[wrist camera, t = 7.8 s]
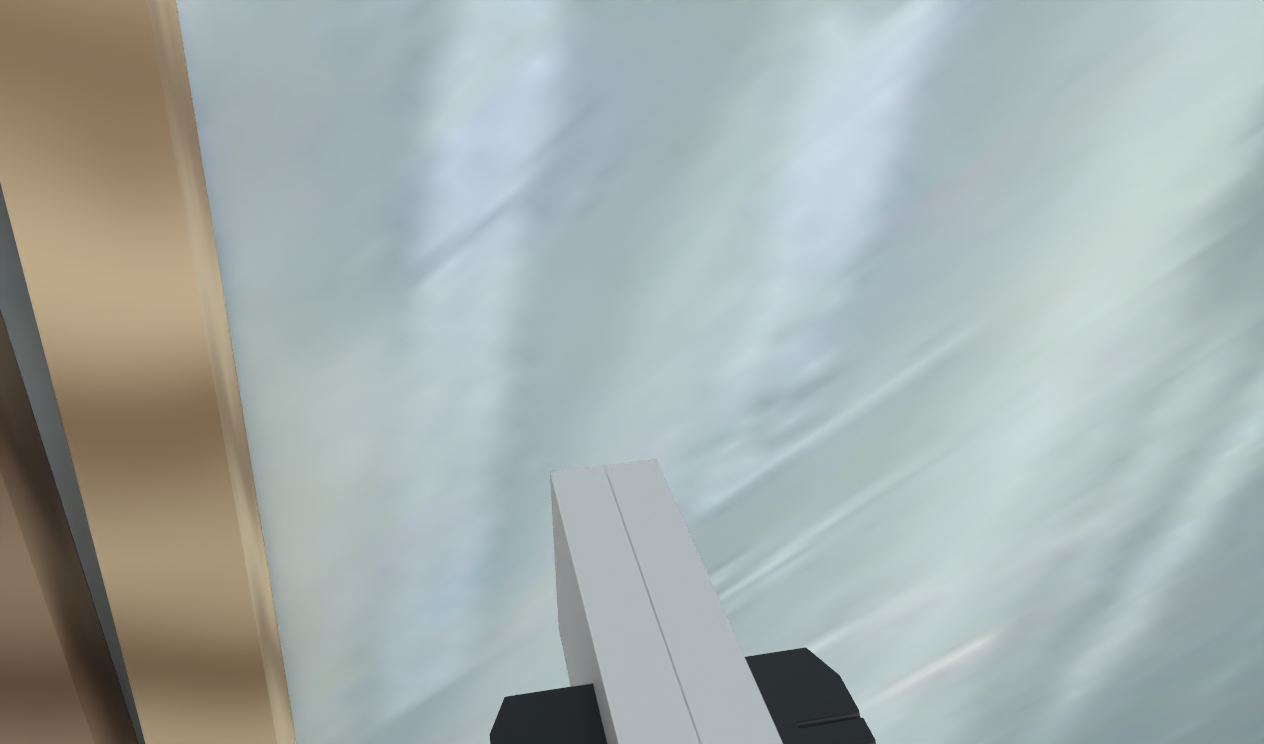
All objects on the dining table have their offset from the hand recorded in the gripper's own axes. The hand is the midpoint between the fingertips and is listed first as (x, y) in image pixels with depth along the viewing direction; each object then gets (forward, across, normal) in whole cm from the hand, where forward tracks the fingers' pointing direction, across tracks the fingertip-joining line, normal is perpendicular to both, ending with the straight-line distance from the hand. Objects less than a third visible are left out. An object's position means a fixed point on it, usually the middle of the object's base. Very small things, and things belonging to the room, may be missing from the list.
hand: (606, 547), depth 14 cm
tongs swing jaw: (+10, +8, +2) cm, 13 cm away
